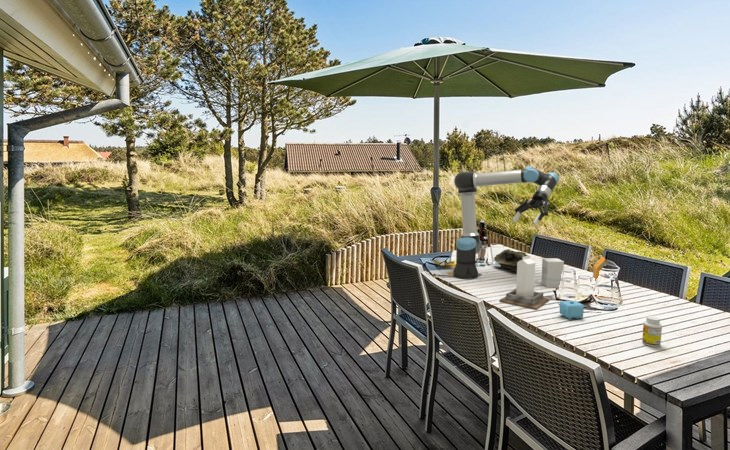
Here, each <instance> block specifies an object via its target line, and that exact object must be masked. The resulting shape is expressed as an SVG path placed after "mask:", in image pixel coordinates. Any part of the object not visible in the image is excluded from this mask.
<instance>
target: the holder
mask: <svg viewBox="0 0 730 450" xmlns="http://www.w3.org/2000/svg"><path fill="white" fill-rule="evenodd" d="M548 302H550V298H548V297H544V292H540V291H535V290H534V297H533V298H528V297H523V296H518V295H516V288H514V289H512V290H511V291H509V292H507V293H506V294H505V296H504V297H502V298H500V299H499V303H502V304H503V303H504V304H509V305H513V306H518V307H521V308H526V309H531V310H535V311H537V310H539V309H540V308H541V307H543V306H544V305H546V304H547V303H548Z"/></svg>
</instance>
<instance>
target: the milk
mask: <svg viewBox="0 0 730 450" xmlns="http://www.w3.org/2000/svg"><path fill="white" fill-rule="evenodd" d="M535 274H536V262H535V260H533V259H532V258H531V255H528V256H524V257H523V259H522V260H521V261H519V262H517V272H516V288H515V289H516V295H518V296H523V297H528V298H533V297H534V291H535V278H536V275H535Z"/></svg>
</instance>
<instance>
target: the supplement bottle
mask: <svg viewBox="0 0 730 450" xmlns="http://www.w3.org/2000/svg"><path fill="white" fill-rule="evenodd" d="M660 321H661V319H660V318H659V317H657V316H651V315H649V316H646V320H645V321H643V327H642V339H641V340H642V341H641V342H642V343H643V344H644V345H646V346H648V347H653V348H655V347H656V348H657V347H660V346H661V342H662V331H663V325H662V323H661V322H660Z"/></svg>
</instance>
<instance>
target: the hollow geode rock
mask: <svg viewBox="0 0 730 450" xmlns="http://www.w3.org/2000/svg"><path fill="white" fill-rule="evenodd" d="M524 256H529V255H528V254H526V252H524V251H515V250H511V249H509V248H508V249H504V250H503V251H501V252H500V253H498V254H496V255H495V256H494V259H493V261H494V262H496V263H498V265H499V266H500V268H501V269H505V268H506V269H511V270H512V271H514V272H516V273H517V262H519V261H521V260H522V259H523V257H524Z"/></svg>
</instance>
